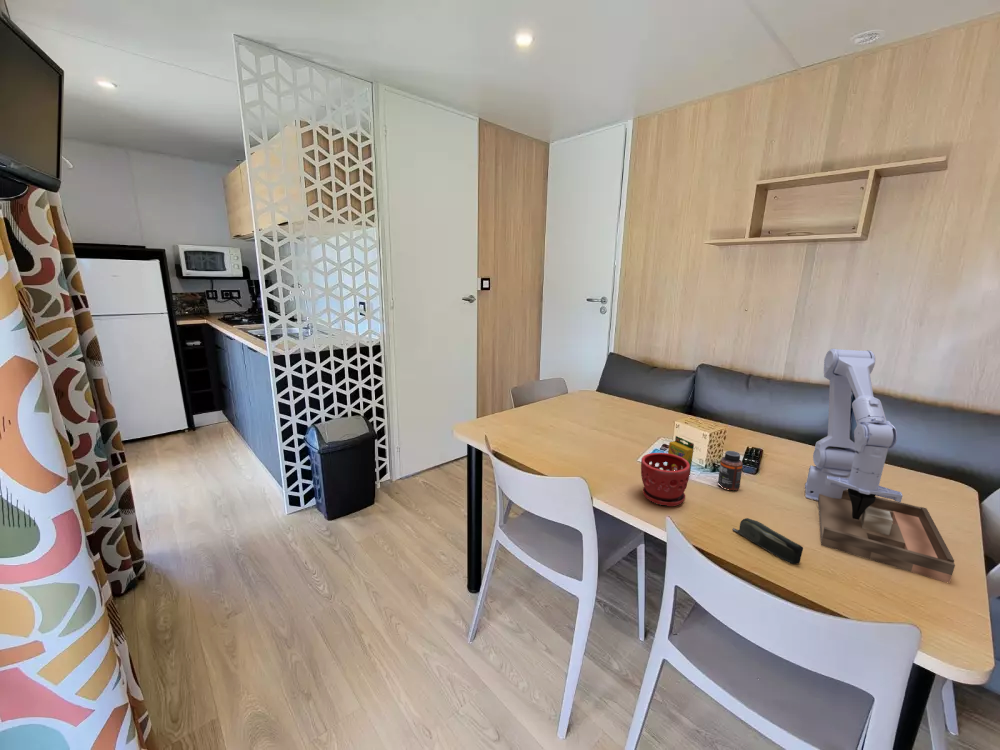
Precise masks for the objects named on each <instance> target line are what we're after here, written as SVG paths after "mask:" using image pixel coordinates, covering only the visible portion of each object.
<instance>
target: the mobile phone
mask: <svg viewBox="0 0 1000 750" xmlns="http://www.w3.org/2000/svg"><path fill="white" fill-rule="evenodd" d="M732 532H735V533H737V534H739V535H741V536H742V537H744V538H745V539H747V540H749V541H750V542H752V543H754V544H756V545H757V546H759V547H761V548H763V550H764V549H765V550H766V551H767V552H769V553H770V554H773V555H774V556H776V557H777V558H779V559H781V560H783V561H785V562H787V563H789V564H792V565H797V564H799V563H800V562H801V558H802V554H803V550H804V547H803V546H802V545H800V544H799V543H797V542H795V541H793V540H791V539H789V538H788V537H786V536H785V535H783V534H780V533H779V532H777V531H775V530H773V529H771V527H768V526H767V525H765V524H764V523H762V522H760V521H759V520H754V519H752V518H749V517H746V518H745V517H744V518H743V519H742V520H741V521H740V523H739V529H736V528H734V527H733V528H732Z"/></svg>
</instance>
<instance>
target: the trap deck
mask: <svg viewBox="0 0 1000 750" xmlns="http://www.w3.org/2000/svg"><path fill="white" fill-rule="evenodd" d="M875 498H876V500H875V502H874V503H873V504H871V505H870V506H869V507H873V508H877V509H881V510H885V511H889V512H890V514H891V517H892V520H893V522H892V526H891V530H890V534H889V535H886V534H883V533H879V532H875V531H871V530H868V529H864V528H862V524H861V519H860V518H861V516H860V518H859V520H858V519H854V518H852V503H851V500H850V497H849V494H848V489H847V490H844V491H843V494H842V498H841V499H837V498H831V497H827V496H824V495H821V494H819V497H818V501H817V507H818V520H819V533H820V534H819V535H820V536H819V537H820V545H821V546H823V547H826V548H830V549H834V550H835V551H839V552H844V553H846V554H850V555H854V556H857V557H860V558H863V559H867V560H871V561H873V562H877V563H880V564H884V565H887V566H891V567H894V568H897V569H900V570H904V571H907V572H910V573H913V574H916V575H921V576H924V577H927V578H929V579H933V580H937V581H941V582H943V583H947V582H948V583H947V584H951V580H952V576H953V573H954V570H955V567H956V564H955V559H954V557H953V555H952V554H951V551H950V550H949V548H948V546H947V544H946V542H945V540H944V538H943V536H942V535H941V533H940V531H939V529H938V527H937V526H936V523H935V522H934V520H933V517H932V516H931V514H930V512H929V510H928V508H927V507H924V506H923V507H922V506H917V505H912V504H908V503H903V502H897V501H895V500H893V499H888V498H884V497H880V496H875Z"/></svg>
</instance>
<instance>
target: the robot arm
mask: <svg viewBox="0 0 1000 750" xmlns="http://www.w3.org/2000/svg"><path fill="white" fill-rule="evenodd" d="M875 366H876V356H875V354H874V352H873V351H872V350H868V349H867V350H859V349H858V350H857V349H855V350H854V349H838V348H837V349H836V348H830V349H829V350H827V352H826V354H825V356H824V359H823V377H824V378H825V379H827V380H829V394H828V395H829V396H828V397H829V398H828V419H827V420H828V422H827V423H828V424H827V426H828V427H827V436H825V437H823V438H821V439H820V440H818V441H816V442H815V446H814V450H813V455H812V458H813V459H812V460H813V464H814V465H810V466H809V469H808V474H807V477H806V482H805V484H804V489H805V498H806V499H809V500H813V501H814V500H815V501H817V502H818V497H819V494H821V495H824V496H827V497H831V498H837V499H841V498H842V494H843V491H844V490H848V494H849V497H850V500H851V503H852V518H854V519H858V520H859V518H860V516H861V515H862V513H863V512H864V511H865V510H866V509H867V508H868V507H869V506H870V505H871V504H873V503H874V502H875V500H876V498H875V497H879V498H883V499H887V500H892V501H896V502H900V503H902V499H903V496H904V495H903V494H902V491H898V490H894V489H891V488H888V487H884V486H882V485H880V483H881V479H882V474H883V471H884V467H885V463H886V459H887V455H888V451H889V449H892V448H895V447H894V446H895V445H896V443H897V441H898V432H897V428H896V427H895V426H894V425H893V424H892V423H891V421H890V420H887V418H886V414H885V411H884V408H883V404H882V402H881V400H880V399H879V398H877V397H874V391H873V384H872V378H871V374H872V372H873V370H874V368H875ZM852 393H853V395H854V398H855V399H854V400H853V402H852V401H851V400H852ZM851 409H852V410H851ZM851 411H853V415H854V418H855V422H856V426H855V428H854V431H853V436H854V441H853V440H852V439H851V437H850V436H851V435H850V432H851ZM832 447H833V448H832Z"/></svg>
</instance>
